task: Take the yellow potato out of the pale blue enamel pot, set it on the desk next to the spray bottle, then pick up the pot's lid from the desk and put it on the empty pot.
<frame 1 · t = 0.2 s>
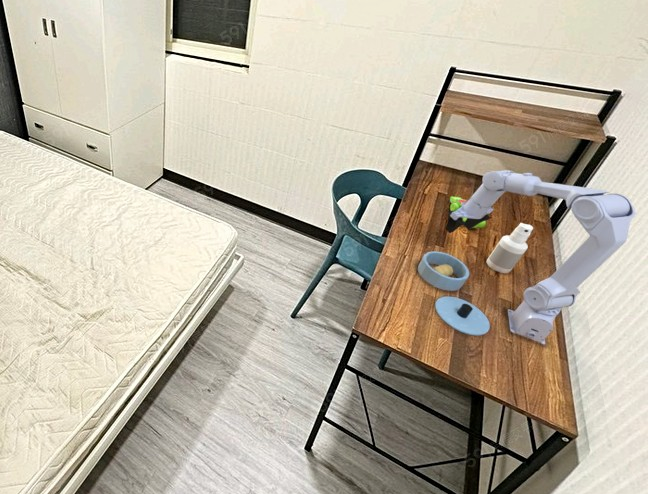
hand: (457, 229, 138), 10 cm above the table, tool pointing down, fingers open, 7 cm apart
potato: (439, 275, 134), resting on pot
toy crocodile: (462, 217, 161), on the table
pot: (438, 276, 134), on the table
lid: (461, 315, 121), point 1 cm above the table
spray bottle: (497, 266, 139), on the table
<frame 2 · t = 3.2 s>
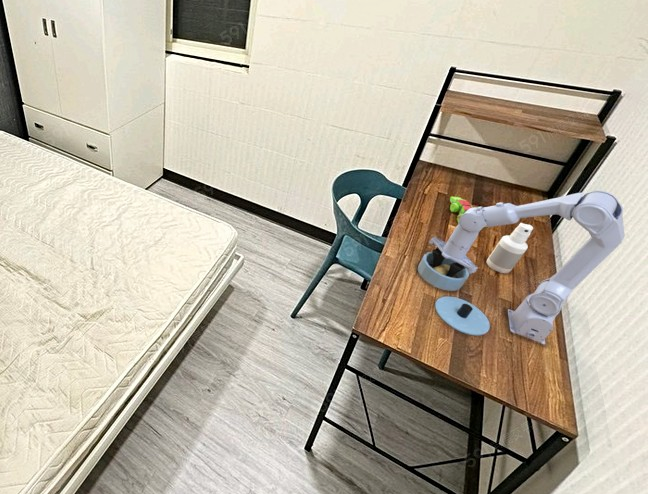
hand: (441, 272, 133), 2 cm above the table, tool pointing down, fingers closed on potato, 4 cm apart
potato: (439, 275, 134), point 1 cm above the table, touching gripper, pot
everything else where it was.
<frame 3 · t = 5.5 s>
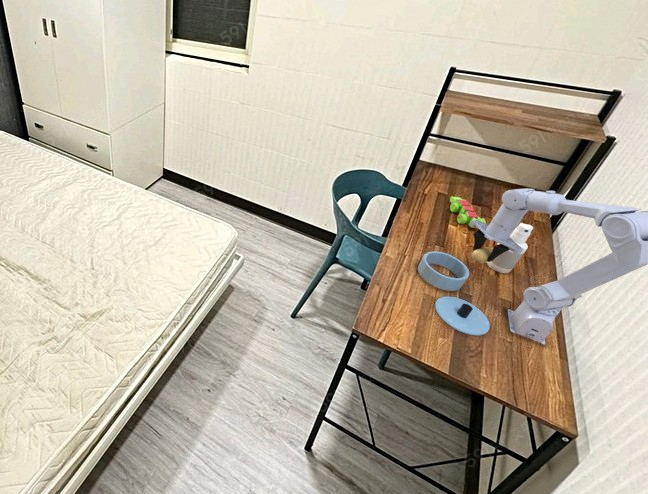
hand: (482, 255, 130), 9 cm above the table, tool pointing down, fingers closed on potato, 4 cm apart
potato: (480, 258, 131), point 7 cm above the table, touching gripper
everything else where it was.
when the fingers open (1 cm above the table, at t = 7.8 s): potato stays where it is, on the table.
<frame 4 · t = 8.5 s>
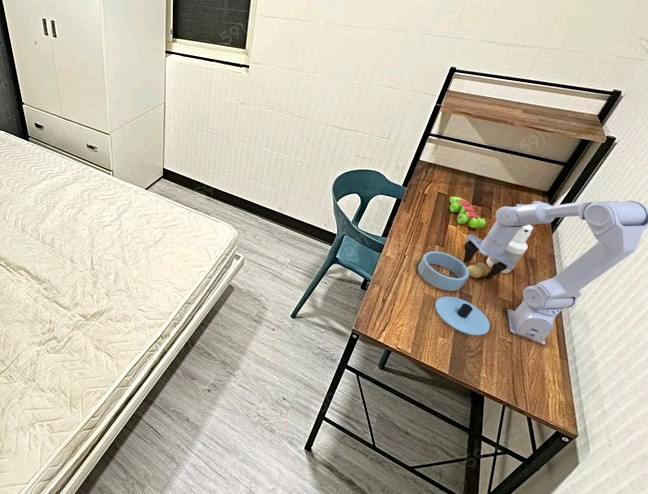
hand: (477, 269, 134), 2 cm above the table, tool pointing down, fingers open, 7 cm apart
potato: (474, 274, 135), on the table
everything else where it was.
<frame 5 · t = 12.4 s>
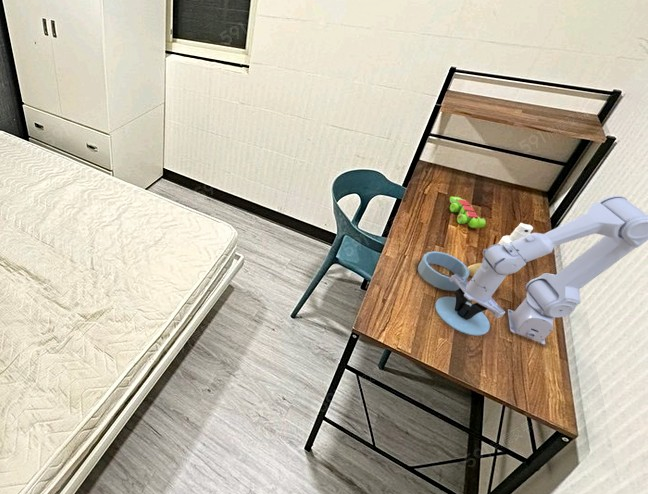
hand: (462, 313, 120), 1 cm above the table, tool pointing down, fingers closed on lid, 2 cm apart
lid: (461, 315, 121), point 1 cm above the table, touching gripper
everything else where it was.
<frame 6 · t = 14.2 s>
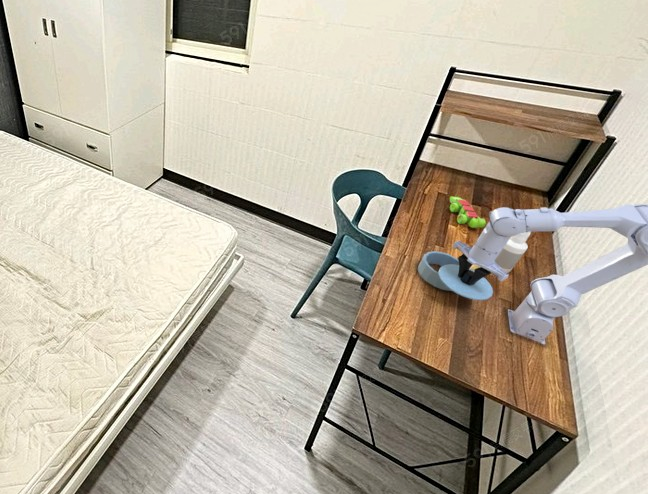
hand: (465, 280, 121), 9 cm above the table, tool pointing down, fingers closed on lid, 2 cm apart
lid: (464, 282, 121), point 9 cm above the table, touching gripper
everything else where it was.
when the fingers open (6 cm above the table, at t = 16.4 s): lid stays where it is, resting on pot.
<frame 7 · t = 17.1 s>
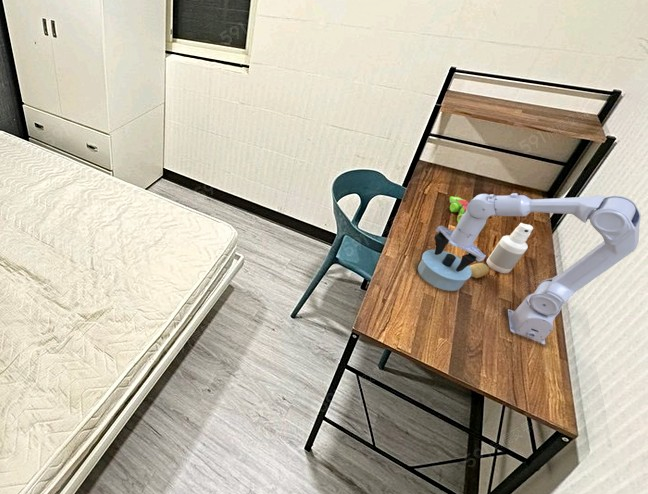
hand: (448, 261, 130), 7 cm above the table, tool pointing down, fingers open, 7 cm apart
lid: (446, 265, 131), point 5 cm above the table, touching pot
everything else where it was.
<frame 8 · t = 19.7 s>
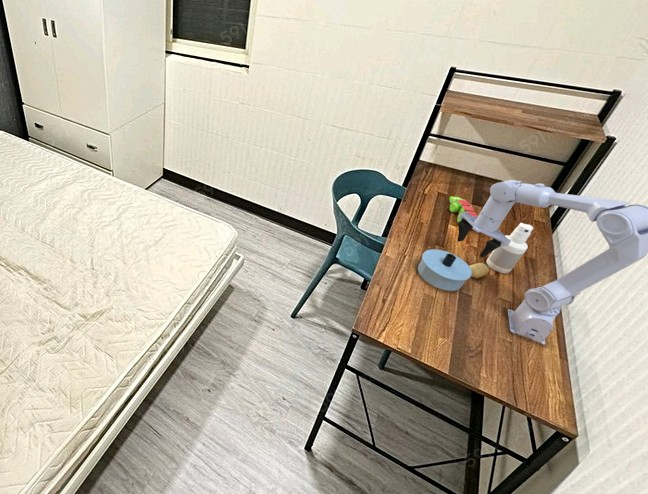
hand: (471, 248, 131), 10 cm above the table, tool pointing down, fingers open, 7 cm apart
nothing on the table moved.
at the end: potato inside the target area (0.0 cm from its centre), on the table; lid 0.1 cm off-centre on the pot, point 5.5 cm above the pot's base; lid tilted 0° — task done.
